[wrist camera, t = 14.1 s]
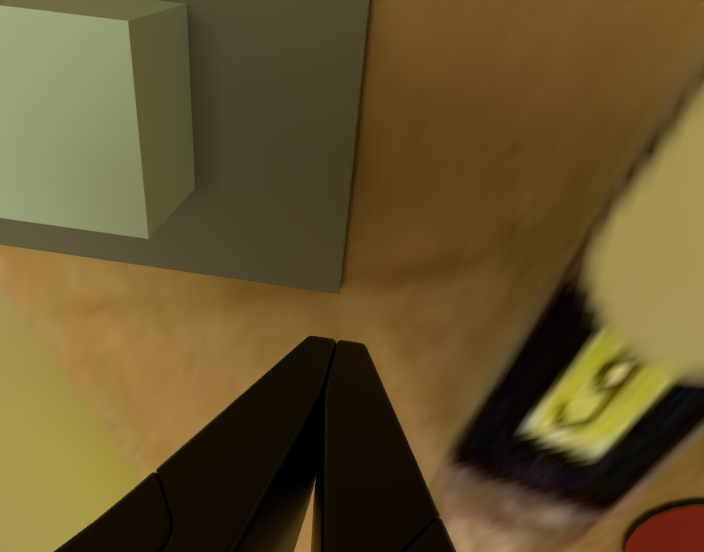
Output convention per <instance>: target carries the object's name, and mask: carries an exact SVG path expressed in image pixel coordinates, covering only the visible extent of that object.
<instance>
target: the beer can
mask: <svg viewBox="0 0 704 552" xmlns="http://www.w3.org/2000/svg"><path fill="white" fill-rule="evenodd" d="M624 552H704V504H690V505H684V506H679V507H673V508H670V509H668V510H665V511H662V512H660V513H657V514H655V515H653V516H651V517H650V518H648V519H647V520H645V521H644V522H643V523H641V524H640V525H638V526H637V527H636V529H635V530H634V532H633V533H632V534H631V536H630V537H629V538H628V540H627V541H626V546H625V551H624Z"/></svg>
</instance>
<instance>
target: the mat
mask: <svg viewBox="0 0 704 552" xmlns="http://www.w3.org/2000/svg"><path fill="white" fill-rule="evenodd" d="M160 1H169V2H177V3H185V4H187V21H188V43H189V65H190V87H191V108H192V130H193V152H194V174H195V189H194V190H193V191H192V192H191V193H190V194H189V196H188V197H187V198H186V199H185V200H184V201H183V202H182V203H181V204H180V205H179V206H178V208H177V209H176V210H175V211H174V212H173V213H172V214H171V215H170V216H169V217H168V218H167V220H166V221H165V222H164V223H163V224H162V225H161V226H160V227H159V228H158V229H157V230H156V232H155V233H154V234H153V235H152V236H151V237H150V238H149V239H145V238H138V237H131V236H124V235H117V234H110V233H103V232H96V231H89V230H82V229H75V228H68V227H61V226H54V225H47V224H40V223H33V222H26V221H19V220H12V219H4V218H0V245H7V246H14V247H21V248H28V249H34V250H41V251H48V252H55V253H62V254H69V255H76V256H83V257H90V258H97V259H104V260H110V261H117V262H124V263H131V264H138V265H145V266H152V267H159V268H166V269H173V270H179V271H186V272H193V273H200V274H207V275H214V276H221V277H228V278H235V279H242V280H249V281H255V282H262V283H269V284H276V285H283V286H290V287H297V288H304V289H311V290H318V291H325V292H331V293H338V294H339V292H340V288H341V283H342V273H343V263H344V254H345V244H346V234H347V225H348V215H349V205H350V196H351V186H352V176H353V167H354V157H355V147H356V137H357V128H358V118H359V108H360V99H361V89H362V79H363V70H364V60H365V50H366V41H367V31H368V21H369V11H370V2H371V0H160Z"/></svg>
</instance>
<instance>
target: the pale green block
mask: <svg viewBox="0 0 704 552" xmlns="http://www.w3.org/2000/svg"><path fill="white" fill-rule="evenodd" d="M194 189H195V174H194V152H193V130H192V108H191V87H190V65H189V43H188V21H187V4H185V3H177V2H169V1H160V0H0V218H4V219H12V220H19V221H26V222H33V223H40V224H47V225H54V226H61V227H68V228H75V229H82V230H89V231H96V232H103V233H110V234H117V235H124V236H131V237H138V238H145V239H149V238H150V237H151V236H152V235H153V234H154V233H155V232H156V230H157V229H158V228H159V227H160V226H161V225H162V224H163V223H164V222H165V221H166V220H167V218H168V217H169V216H170V215H171V214H172V213H173V212H174V211H175V210H176V209H177V208H178V206H179V205H180V204H181V203H182V202H183V201H184V200H185V199H186V198H187V197H188V196H189V194H190V193H191V192H192V191H193V190H194Z"/></svg>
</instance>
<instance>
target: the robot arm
mask: <svg viewBox="0 0 704 552" xmlns="http://www.w3.org/2000/svg"><path fill="white" fill-rule="evenodd" d="M315 478H316V481H315ZM314 483H315V492H314V504H313V522H312V541H311V552H456V550H455V548H454V546H453V544H452V541H451V539H450V537H449V534H448V532H447V530H446V528H445V525H444V523H443V521H442V520H441V519H439V512H438V510H437V508H436V505H435V503H434V501H433V499H432V496H431V494H430V492H429V489H428V487H427V485H426V482H425V480H424V478H423V476H422V473H421V471H420V469H419V466H418V464H417V462H416V460H415V457H414V455H413V453H412V450H411V448H410V446H409V444H408V441H407V439H406V437H405V434H404V432H403V430H402V428H401V425H400V423H399V421H398V418H397V416H396V414H395V411H394V409H393V407H392V405H391V402H390V400H389V398H388V395H387V393H386V391H385V389H384V386H383V384H382V382H381V379H380V377H379V375H378V373H377V370H376V368H375V366H374V363H373V361H372V359H371V357H370V354H369V352H368V350H367V348H366V346H365V345H364V344H363V343H358V342H351V341H344V340H340V341H338V342H337V344H336V341H335V340H334V339H331V338H324V337H317V336H309V337H307V338H306V339H305V340H304V341H302V342H301V343H300V344H299V345H298V346H297V347H296V348H294V349H293V350H292V351H291V352H290V353H289V354H288V355H286V356H285V357H284V358H283V359H282V360H281V361H280V362H278V363H277V364H276V365H275V366H274V367H273V368H272V369H270V370H269V371H268V372H267V373H266V374H265V375H264V376H262V377H261V378H260V379H259V380H258V381H257V382H256V383H254V384H253V385H252V386H251V387H250V388H249V389H248V390H246V391H245V392H244V393H243V394H242V395H241V396H239V397H238V398H237V399H236V400H235V401H234V402H233V403H231V404H230V405H229V406H228V407H227V408H226V409H225V410H223V411H222V412H221V413H220V414H219V415H218V416H217V417H215V418H214V419H213V420H212V421H211V422H210V423H209V424H207V425H206V426H205V427H204V428H203V429H202V430H201V431H199V432H198V433H197V434H196V435H195V436H194V437H193V438H191V439H190V440H189V441H188V442H187V443H186V444H185V445H183V446H182V447H181V448H180V449H179V450H178V451H177V452H175V453H174V454H173V455H172V456H171V457H170V458H169V459H167V460H166V461H165V462H164V463H163V464H162V465H161V466H159V467H158V468H157V470H156V473H154V472H153V473H151V474H150V475H149V476H148V477H146V478H145V479H144V480H143V481H142V482H141V483H140V484H138V485H137V486H136V487H135V488H134V489H133V490H132V491H130V492H129V493H128V494H127V495H126V496H124V497H123V498H122V499H121V500H120V501H118V502H117V503H116V504H115V505H114V506H112V507H111V508H110V509H109V510H108V511H106V512H105V513H104V514H103V515H101V516H100V517H99V518H98V519H97V520H95V521H94V522H93V523H91V524H90V525H89V526H87V527H86V528H85V529H83V530H82V531H81V532H79V533H78V534H77V535H75V536H74V537H73V538H71V539H70V540H69V541H67V542H66V543H65V544H63V545H62V546H61V547H59V548H58V549H57V550H56V551H54V552H294V549H295V546H296V543H297V540H298V537H299V534H300V530H301V527H302V524H303V521H304V518H305V515H306V511H307V508H308V505H309V502H310V498H311V495H312V491H313V488H314Z"/></svg>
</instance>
